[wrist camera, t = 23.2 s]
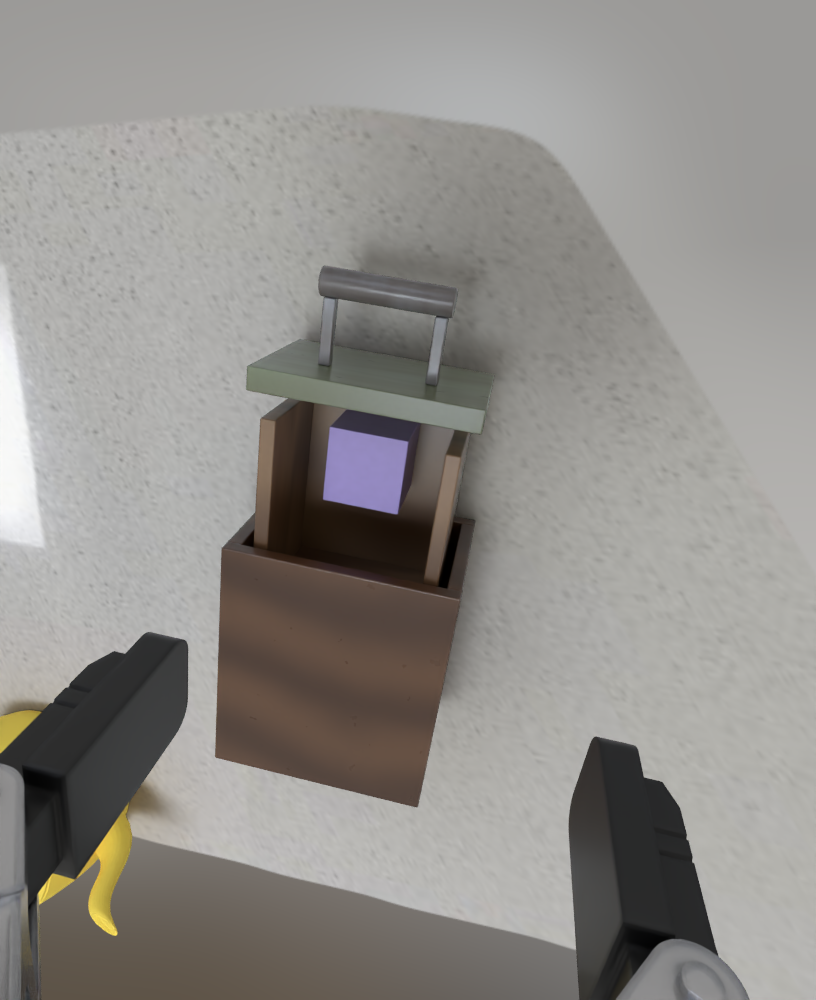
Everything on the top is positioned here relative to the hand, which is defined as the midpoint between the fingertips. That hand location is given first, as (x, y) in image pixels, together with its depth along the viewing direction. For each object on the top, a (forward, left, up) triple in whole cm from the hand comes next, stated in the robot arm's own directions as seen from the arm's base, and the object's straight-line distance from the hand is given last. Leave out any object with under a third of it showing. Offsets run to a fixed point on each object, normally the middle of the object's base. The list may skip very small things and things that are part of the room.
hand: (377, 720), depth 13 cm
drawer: (+1, -6, -27) cm, 28 cm away
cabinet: (+13, -10, -28) cm, 33 cm away
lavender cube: (+2, -6, -26) cm, 27 cm away
